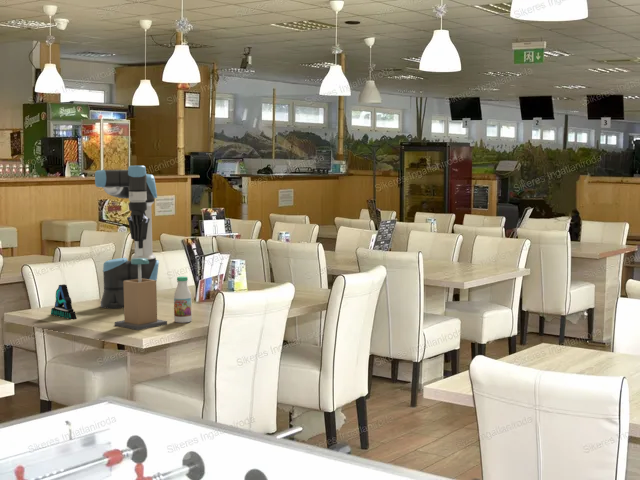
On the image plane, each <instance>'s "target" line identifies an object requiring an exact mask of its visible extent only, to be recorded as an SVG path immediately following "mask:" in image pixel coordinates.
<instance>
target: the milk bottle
mask: <svg viewBox="0 0 640 480" xmlns="http://www.w3.org/2000/svg"><path fill="white" fill-rule="evenodd" d="M188 278H189V277H188V276H178V277H176V282H177V286H176V289H175V291H174V295H173V305H174V306H173V310H174V311H173V313H174V314H173V315H174V316H173V319H174V322H175V323H177V324H178V323H179V324H181V323H183V324H184V323H191V322H192V321H193V319H192V318H193V311H192V310H193V309H192V308H193V306H192V305H193V304H192V293H191V290H190V288H189V286H188V281H189V280H188Z"/></svg>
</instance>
